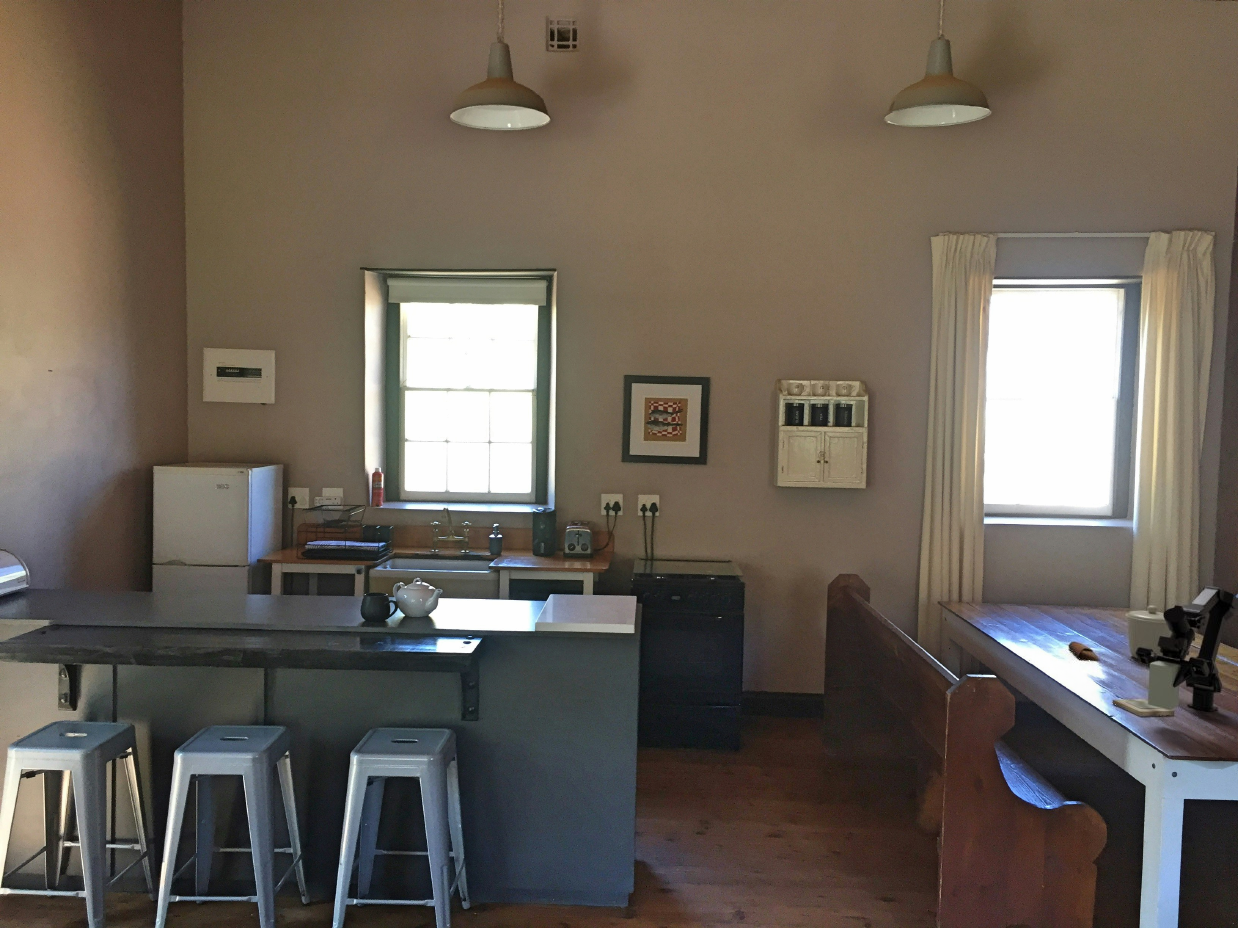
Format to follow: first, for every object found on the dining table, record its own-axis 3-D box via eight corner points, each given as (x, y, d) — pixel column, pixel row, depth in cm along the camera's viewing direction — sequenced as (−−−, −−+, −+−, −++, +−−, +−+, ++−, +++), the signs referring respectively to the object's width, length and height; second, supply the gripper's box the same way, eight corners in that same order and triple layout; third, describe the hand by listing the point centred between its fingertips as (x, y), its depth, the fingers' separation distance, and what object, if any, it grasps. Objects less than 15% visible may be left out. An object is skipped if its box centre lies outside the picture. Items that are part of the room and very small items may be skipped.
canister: (1184, 666, 337) (1188, 611, 336) (1132, 662, 341) (1135, 608, 340) (1165, 655, 355) (1168, 602, 354) (1116, 651, 358) (1119, 599, 358)
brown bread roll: (1102, 661, 341) (1093, 645, 342) (1084, 669, 343) (1075, 653, 344) (1090, 650, 359) (1082, 635, 359) (1074, 658, 360) (1065, 643, 361)
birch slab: (1145, 704, 288) (1145, 698, 288) (1174, 716, 277) (1174, 710, 276) (1112, 705, 286) (1112, 699, 286) (1139, 717, 275) (1140, 710, 275)
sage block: (1156, 700, 271) (1158, 660, 270) (1178, 706, 266) (1180, 664, 266) (1147, 704, 267) (1149, 663, 267) (1169, 709, 262) (1171, 667, 262)
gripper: (1139, 620, 276) (1121, 660, 269) (1207, 632, 261) (1190, 675, 254) (1149, 642, 281) (1131, 682, 274) (1216, 655, 266) (1199, 698, 260)
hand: (1162, 683), depth 266 cm, fingers closed on sage block, 6 cm apart
